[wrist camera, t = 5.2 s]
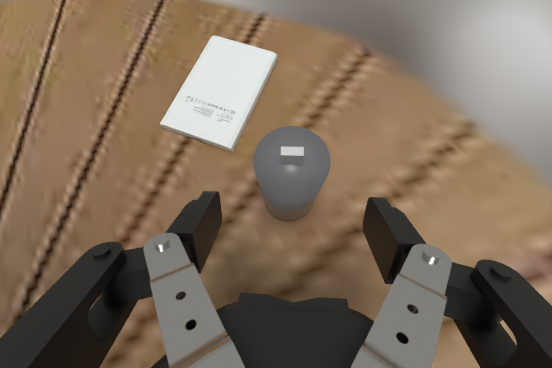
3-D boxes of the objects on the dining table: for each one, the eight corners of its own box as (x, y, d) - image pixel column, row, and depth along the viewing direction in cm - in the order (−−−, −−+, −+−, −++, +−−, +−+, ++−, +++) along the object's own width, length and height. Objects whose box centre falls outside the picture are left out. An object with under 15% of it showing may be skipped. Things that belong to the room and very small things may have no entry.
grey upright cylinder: (263, 220, 21) (247, 190, 12) (266, 175, 23) (253, 113, 13) (312, 222, 21) (336, 192, 11) (311, 176, 22) (333, 115, 13)
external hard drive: (277, 64, 27) (233, 155, 24) (215, 46, 29) (165, 130, 25) (277, 52, 26) (230, 148, 23) (211, 34, 27) (157, 122, 24)
